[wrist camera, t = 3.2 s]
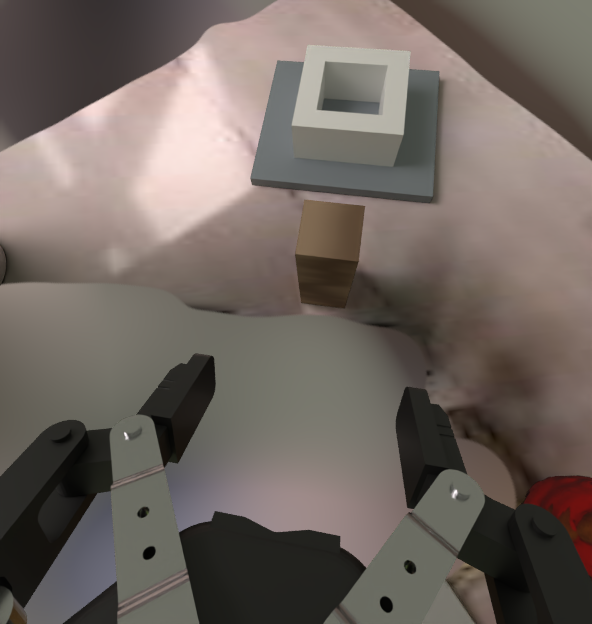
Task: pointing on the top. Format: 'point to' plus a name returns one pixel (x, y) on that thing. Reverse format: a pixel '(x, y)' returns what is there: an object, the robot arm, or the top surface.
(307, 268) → the brown wooden block
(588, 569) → the red clay folk toy
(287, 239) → the top surface
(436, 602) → the laptop
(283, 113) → the socket plate
